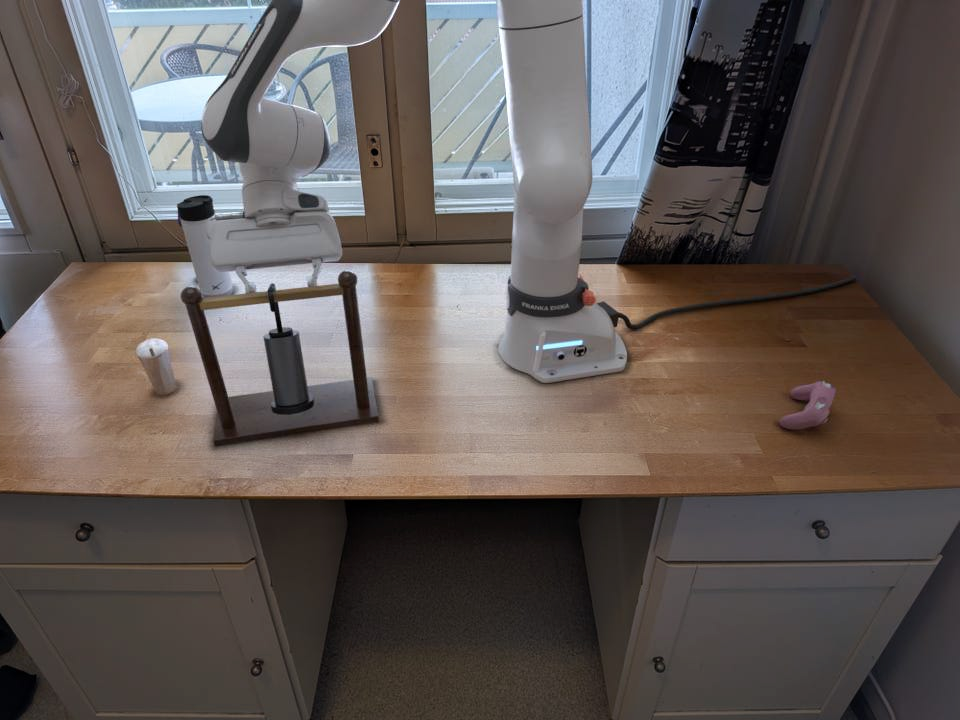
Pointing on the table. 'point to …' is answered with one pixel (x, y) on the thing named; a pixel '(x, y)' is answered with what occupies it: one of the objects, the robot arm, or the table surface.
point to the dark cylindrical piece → (286, 366)
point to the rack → (253, 411)
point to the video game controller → (810, 406)
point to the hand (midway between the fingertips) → (282, 291)
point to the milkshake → (157, 365)
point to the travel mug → (202, 246)
